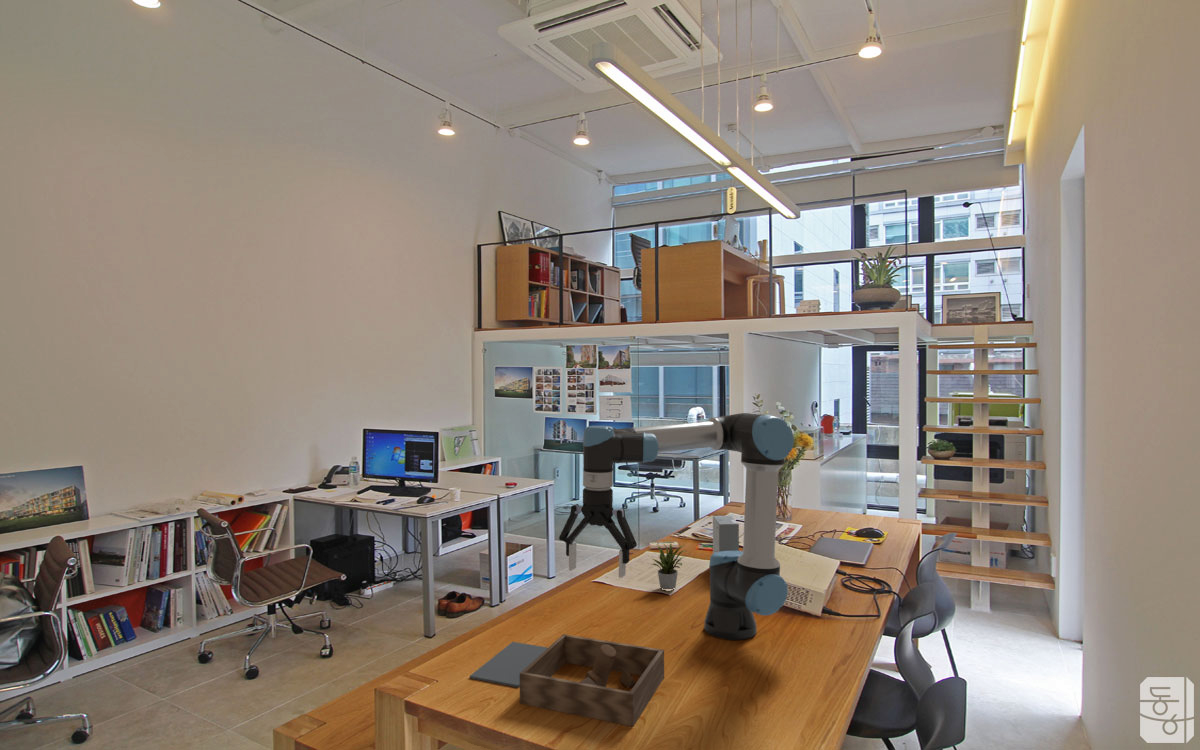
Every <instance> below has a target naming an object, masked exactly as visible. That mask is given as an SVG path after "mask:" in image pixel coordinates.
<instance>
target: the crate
mask: <svg viewBox="0 0 1200 750" xmlns="http://www.w3.org/2000/svg"><path fill="white" fill-rule="evenodd" d="M603 644H607V645H610V646H612V647H613V648H614V649H615V650H616V657H615V660H614V663H613V666H612V668H611V671H613V672H619V673H622V672H623V670H625V671H626V672H627V673H628V674H629V675H637V676H640V677H639V678H638V679H637V680H636V684H634V685H633V686H632V688H631V689H630V691H628V690H623V689H619V688H612V687H607V686H605V687H602V686H597V685H591V684H586V683H580V682H581V681H574V680H569V679H563V678H560V677H559V678H557V677H553V675H554V674H555V673H556V672H557V671H558V670H559V669H560V668H562V666H564V664H565V663H567V664H573V665H578V666H582V667H588V668H594V665H595V662H596V659H597V656H598V653H599V650H600V647H601V646H602V645H603ZM664 678H665V650H664V649H661V648H656V647H655V648H654V647H647V646H642V645H641V646H640V645H633V644H629V643H621V642H617V641H616V642H614V641H610V640H609V641H608V640H602V639H595V638H590V637H583V636H577V635H571V634H570V635H569V634H564V633H563V634H561V635H560V636H559V638H557V639H556V640H555V641H554V642H553V643H552V644H551V645H550V646H548V648H547V649H546V650H545V651H544V652H543V653H542V654H541V655H540V656H538V657H537V658H536V659H535V660H534V661H533V662H532V663H531V664H530V665H528V666H527V667H526V668H525V669H524V670H523V671H522V672H521V673H520V687H519V704H521V705H525V706H531V707H537V708H540V709H547V710H551V711H556V712H560V713H566V714H569V715H570V714H571V715H575V716H578V717H585V718H589V719H590V718H591V719H596V720H599V721H605V722H610V723H613V724H614V723H615V724H619V725H624V726H629V727H634V726H635V724H636V723H637V721H638V720H639V718H640V717H641V715H642V714H643V712H644V710H645V709H646V707H647V705H648V704H649V703H650V701H651V699H652V698H653V696H654V695H655V693H656V692H657V690H658V688H659V687H660V685H661V684H662V682H663V680H664ZM648 702H649V703H648Z"/></svg>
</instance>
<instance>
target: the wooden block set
mask: <svg viewBox="0 0 1200 750" xmlns="http://www.w3.org/2000/svg"><path fill="white" fill-rule="evenodd" d="M615 657H616V650H615V649H614V648H613V647H612V646H610V645H607V644H603V645H602V646H601V647H600V650H599V653H598V656H597V659H596V662H595V665H594V667H592V669H590V670H589V671H587V672H586V676H585V678H584V679H581V681H579V682H580V683H586V684H591V685H597V686H602V687H607V686H606V685H607V683H608V680H609V678H610V677H609V676H610V673H611V671H612V670H611V668H612V666H613V663H614V660H615ZM619 682H621V683H622V684H623V685H624V686H625V687H626V688H629V689H630V688H631V687H634V685H635V684H636V683H637V681H635V679H634V677H633V676H631V674H629V673H627V672H626V671H625V670H623V672H621V675H620V677H619Z"/></svg>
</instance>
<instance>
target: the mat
mask: <svg viewBox="0 0 1200 750" xmlns="http://www.w3.org/2000/svg"><path fill="white" fill-rule="evenodd" d="M548 647H549V646H548ZM548 647H547V646H541V645H534V644H528V643H523V642H517V641H512V642H511V643H510V644H508V645H506V646H505V647H504V648H503V649H501V651H499V652H498V653H497V654H495V655H494V656H492V658H490V659H489V660H488V661H486V662H485V663H484V664H483V665H481V666H480V667H479V668H478V669H477V670H475V671H474V672H473V673H472V674H470V675H469V679H472V680H476V679H477V681H481V680H482V682H487V683H493V684H497V683H498V684H497V685H503V686H507V687H512V688H513V687H514V688H519V689H520V673H521V672H522V671H523V670H524V669H525V668H526V667H527V666H528V665H530V664H531V663H532V662H533V661H534V660H535V659H536V658H537V657H538V656H540V655H541V654H542V653H543V652H544V651H545V650H546V649H547V648H548ZM488 681H489V682H488Z"/></svg>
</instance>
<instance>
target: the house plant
mask: <svg viewBox="0 0 1200 750" xmlns="http://www.w3.org/2000/svg"><path fill="white" fill-rule="evenodd" d="M662 544H663V545H664V547H665V551H666V554H665V553H664V550H663V548H661V547H660V546H659V545H658V544H656V546H657V548H658V551H659V560H660V561H659V560H657V559H654V558H652V560H653V561H654V562H655V563H652V564H651V565H653V566H656V567H658V568H659V569H658V570H657V575H658V576H657V577H658V582H659V586H660V587H661V588H663V589H673V588H675V589H676V588H677V587H676V585H677V580H678V573H679V572H678V570H677V569H678V568H679V569H681V567H682V566H683V563H681V561H682V559H683V558H685V557H680V555H681V554H682V553H683V552H687V550H681V549H682V548H683V547H686V546H687V544H684V545H681V546H679V547H678V548H676V549H675V548H674V549H673V544H672V543H669V549H668V547H667V546H666V544H665V543H663V542H662ZM648 550H650V551H651V549H648ZM680 550H681V551H680ZM652 552H653V553H655V551H654V550H652ZM678 552H679V553H678ZM679 557H680V558H679ZM678 558H679V559H678ZM680 566H681V567H680ZM675 568H677V569H675ZM660 587H659V588H660ZM661 588H660V589H661Z"/></svg>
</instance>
